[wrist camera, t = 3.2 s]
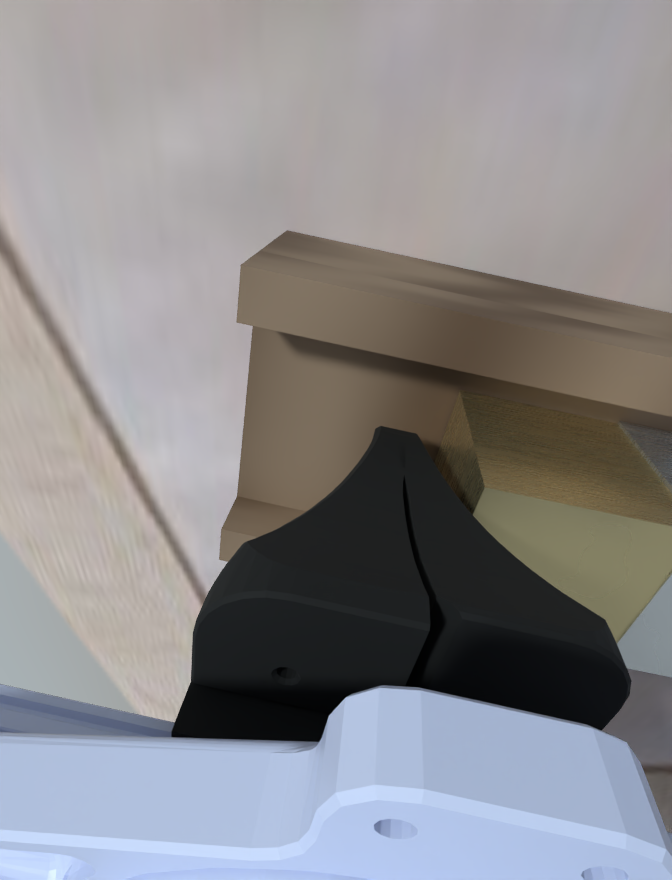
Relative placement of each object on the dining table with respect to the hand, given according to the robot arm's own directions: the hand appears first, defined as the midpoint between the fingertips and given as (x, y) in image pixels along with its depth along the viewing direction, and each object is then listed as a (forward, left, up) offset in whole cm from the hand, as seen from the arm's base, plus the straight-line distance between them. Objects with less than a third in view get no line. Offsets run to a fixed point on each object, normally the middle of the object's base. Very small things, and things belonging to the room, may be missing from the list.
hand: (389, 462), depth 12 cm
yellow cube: (-3, 0, -1) cm, 3 cm away
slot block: (-2, 0, -4) cm, 4 cm away
